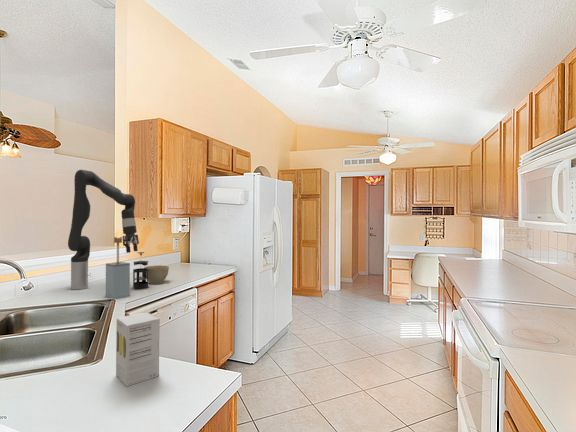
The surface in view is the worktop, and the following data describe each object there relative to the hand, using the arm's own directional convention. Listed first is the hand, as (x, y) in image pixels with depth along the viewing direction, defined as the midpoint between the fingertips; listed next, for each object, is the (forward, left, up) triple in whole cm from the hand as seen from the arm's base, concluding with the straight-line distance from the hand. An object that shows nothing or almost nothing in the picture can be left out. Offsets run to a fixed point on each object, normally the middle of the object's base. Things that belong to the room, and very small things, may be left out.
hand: (132, 251), depth 201 cm
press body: (+7, -12, -24) cm, 28 cm away
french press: (-4, +8, -24) cm, 26 cm away
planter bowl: (-11, +23, -24) cm, 35 cm away
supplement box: (+106, -53, -24) cm, 121 cm away
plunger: (+7, -12, -14) cm, 20 cm away
